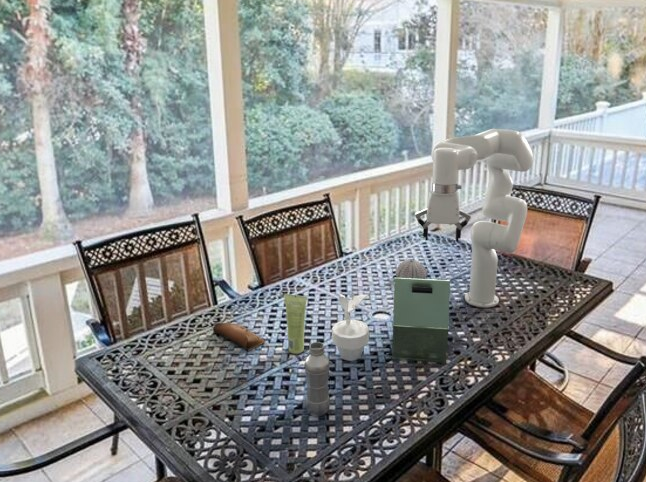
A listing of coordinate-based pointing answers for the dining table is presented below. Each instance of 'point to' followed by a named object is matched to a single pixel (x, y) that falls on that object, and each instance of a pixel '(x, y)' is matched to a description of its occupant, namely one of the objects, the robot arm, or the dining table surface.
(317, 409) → the plastic bottle
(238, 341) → the sunglasses case
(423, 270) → the sea urchin shell
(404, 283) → the bin lid
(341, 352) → the potted plant
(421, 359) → the green storage bin
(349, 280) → the dining table surface
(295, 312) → the tube
